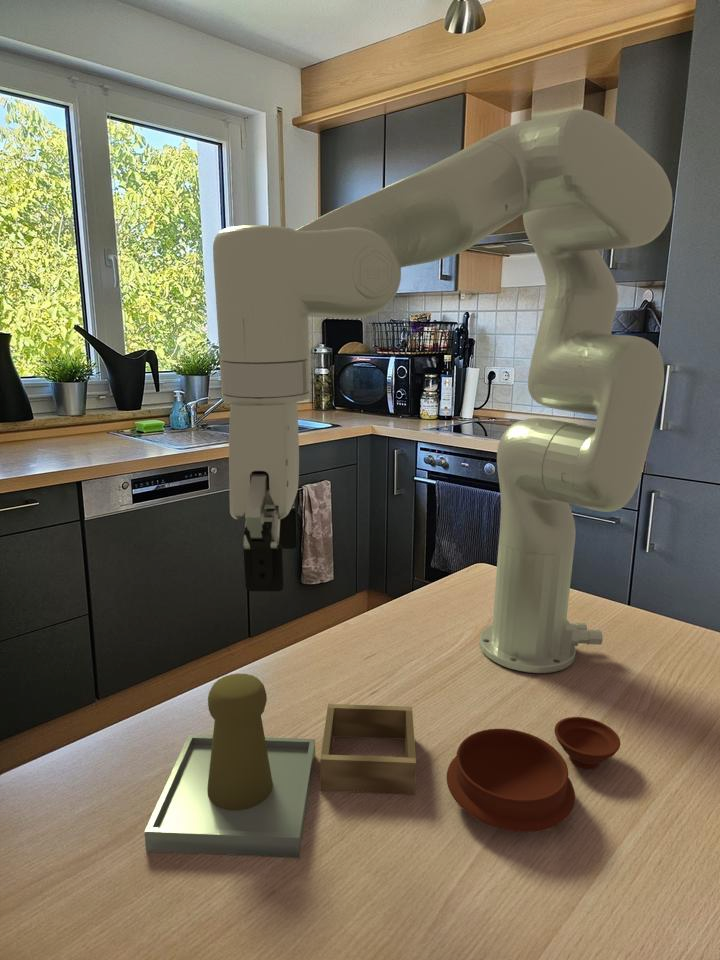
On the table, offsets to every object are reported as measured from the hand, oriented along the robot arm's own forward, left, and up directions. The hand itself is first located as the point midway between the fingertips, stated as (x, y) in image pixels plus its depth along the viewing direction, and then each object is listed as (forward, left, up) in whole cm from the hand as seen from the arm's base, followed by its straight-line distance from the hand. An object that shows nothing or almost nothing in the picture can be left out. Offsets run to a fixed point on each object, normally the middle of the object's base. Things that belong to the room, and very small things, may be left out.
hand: (273, 567), depth 61 cm
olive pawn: (+3, +5, -20) cm, 21 cm away
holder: (-9, -1, -21) cm, 23 cm away
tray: (+3, +5, -21) cm, 22 cm away
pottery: (-26, +1, -22) cm, 34 cm away
